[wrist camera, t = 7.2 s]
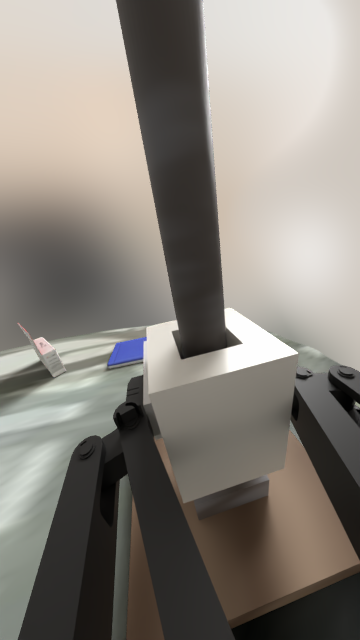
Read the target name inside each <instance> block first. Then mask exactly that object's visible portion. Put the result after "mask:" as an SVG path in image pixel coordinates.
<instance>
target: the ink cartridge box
mask: <svg viewBox="0 0 360 640" xmlns="http://www.w3.org/2000/svg"><path fill="white" fill-rule="evenodd" d="M18 325H19V326H20V328H21V329H22V330H23V332H24V333H25V335H26V336H27V337H28V339H29V340H30V342H31V344H32V346H33V348H34V350H35V351H36V353H37V355H38V357H39V359H40V360H41V361H42V363H43V364H44V365H45V367H46V368H47V369H48V371H49V372H50V373H51V375H52V376H53V377H56V376H58V375H60V374H62V373H64V372H66V369H65V367H64V365H63V363H62V361H61V359H60V357H59V355H58V353H57V351H56V349H54V348H53V347H52V346H51V345H50V344H49V343H48V342H47V341H46V340H45V339H44V338H42V337H40V338H38V339H35V340H33V339H32V338H31V336H30V335H29V333H28V332H27V331H26V330H25V329H24V328H23V327H22V326H21V325H20V324H19V323H18Z"/></svg>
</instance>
